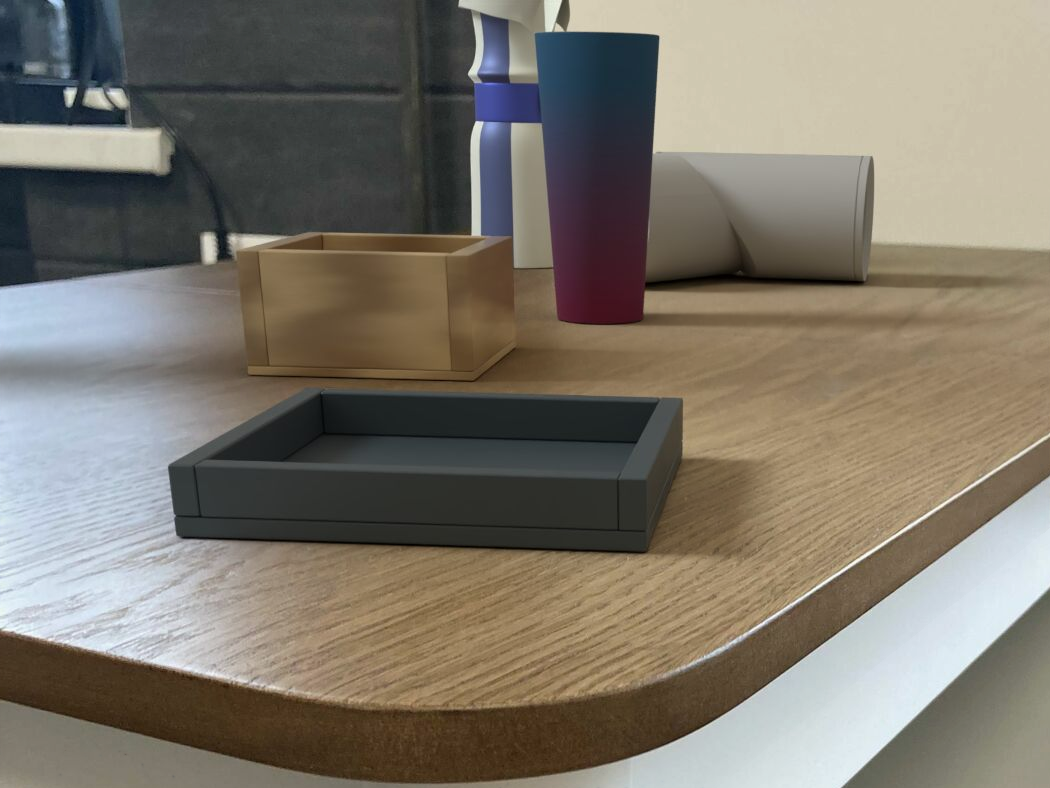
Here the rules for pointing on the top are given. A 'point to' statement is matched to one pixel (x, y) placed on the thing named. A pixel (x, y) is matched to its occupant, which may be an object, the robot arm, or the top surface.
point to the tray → (437, 470)
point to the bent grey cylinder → (760, 216)
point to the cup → (598, 168)
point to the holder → (377, 305)
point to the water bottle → (511, 125)
